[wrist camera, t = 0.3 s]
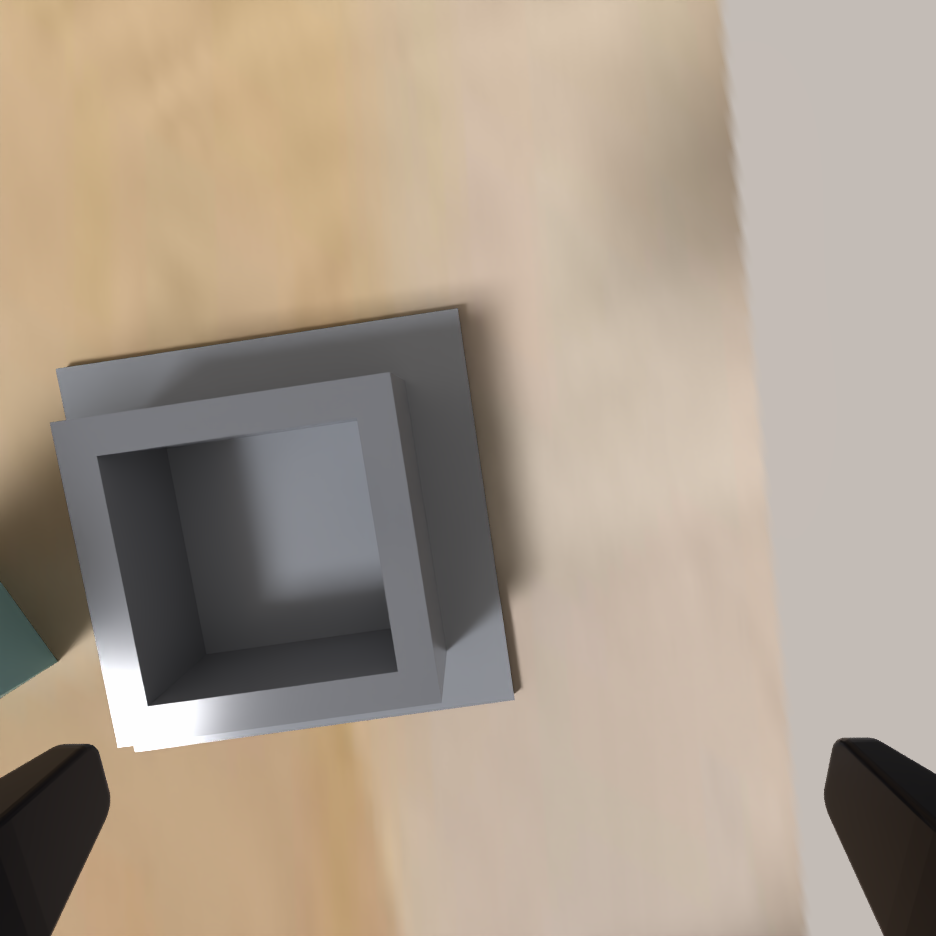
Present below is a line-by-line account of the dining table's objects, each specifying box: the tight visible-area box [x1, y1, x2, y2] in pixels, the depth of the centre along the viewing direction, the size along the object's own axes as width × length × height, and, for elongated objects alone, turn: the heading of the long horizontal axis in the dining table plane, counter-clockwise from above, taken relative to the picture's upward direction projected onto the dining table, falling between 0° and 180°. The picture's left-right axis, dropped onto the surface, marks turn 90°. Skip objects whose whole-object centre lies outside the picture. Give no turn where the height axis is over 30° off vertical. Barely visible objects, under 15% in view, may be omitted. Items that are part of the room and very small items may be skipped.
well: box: [50, 308, 515, 752], centre depth 20 cm, size 15×15×4 cm
